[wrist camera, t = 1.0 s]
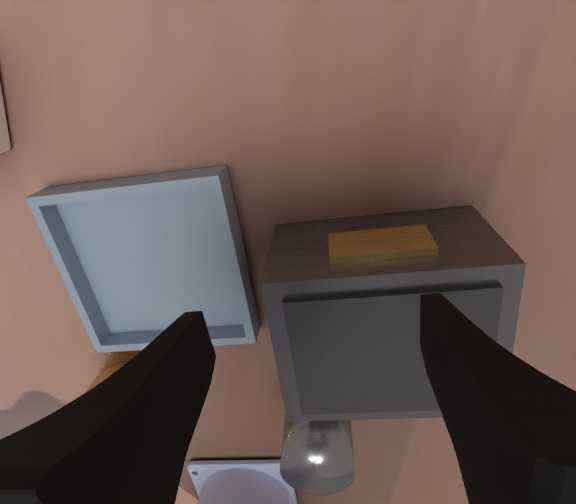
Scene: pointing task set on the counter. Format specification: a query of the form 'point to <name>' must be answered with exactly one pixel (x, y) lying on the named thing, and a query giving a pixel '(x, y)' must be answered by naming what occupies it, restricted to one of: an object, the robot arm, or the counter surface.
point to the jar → (3, 127)
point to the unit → (379, 306)
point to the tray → (150, 255)
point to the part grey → (317, 456)
